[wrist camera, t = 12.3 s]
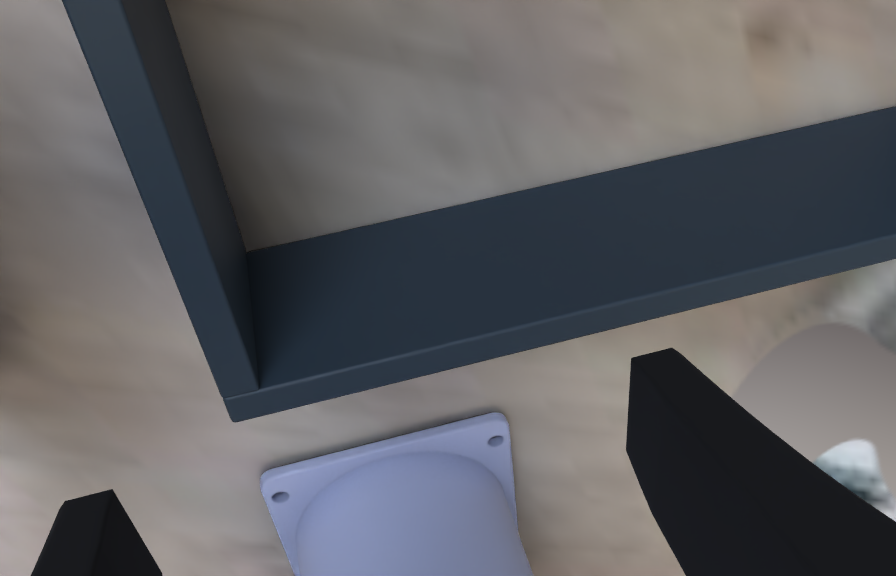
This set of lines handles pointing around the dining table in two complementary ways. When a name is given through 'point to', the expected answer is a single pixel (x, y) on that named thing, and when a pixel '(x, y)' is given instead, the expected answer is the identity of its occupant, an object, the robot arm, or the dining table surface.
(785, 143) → the bin
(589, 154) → the dining table surface
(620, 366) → the dining table surface
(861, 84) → the dining table surface
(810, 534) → the robot arm
